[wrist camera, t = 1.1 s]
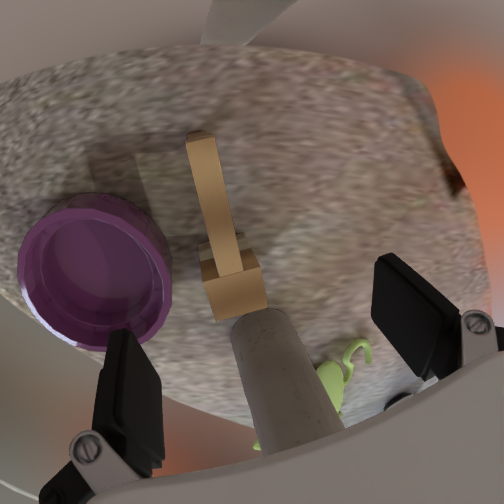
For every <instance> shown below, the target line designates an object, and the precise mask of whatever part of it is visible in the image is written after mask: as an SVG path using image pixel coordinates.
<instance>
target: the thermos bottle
mask: <svg viewBox="0 0 504 504" xmlns="http://www.w3.org/2000/svg"><path fill="white" fill-rule="evenodd" d="M231 342H232V347H233V351H234V355H235V358H236V362H237V365H238V369H239V373H240V377H241V381H242V385H243V388H244V392H245V395H246V398H247V401H248V404H249V407H250V410H251V414H252V418H253V423H254V427H255V431H256V434H257V438H258V441H259V445H260V448H261V451H262V455H263V457H264V456H267V455H271V454H274V453H278V452H281V451H285V450H288V449H291V448H294V447H297V446H300V445H303V444H306V443H309V442H312V441H315V440H318V439H320V438H323V437H326V436H328V435H331V434H334V433H336V432H339V431H341V430H344V429H345V427H344V425H343V423H342V421H341V419H340V417H339V415H338V413H337V411H336V409H335V407H334V405H333V403H332V401H331V399H330V397H329V395H328V393H327V391H326V389H325V387H324V386H323V384H322V382H321V380H320V378H319V376H318V374H317V373H316V371H315V369H314V367H313V365H312V363H311V361H310V358H309V356H308V354H307V352H306V350H305V348H304V346H303V344H302V342H301V340H300V338H299V336H298V334H297V332H296V330H295V329H294V327H293V325H292V323H291V321H290V319H289V317H288V316H287V315H286V314H284V313H283V312H281V311H278V310H275V309H261V310H257V311H254V312H251V313H249V314H247V315H245V316H244V317H242V318H241V319H240V320H239V321H238V322H237V323H236V324H235V326H234V327H233V330H232V332H231Z"/></svg>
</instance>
